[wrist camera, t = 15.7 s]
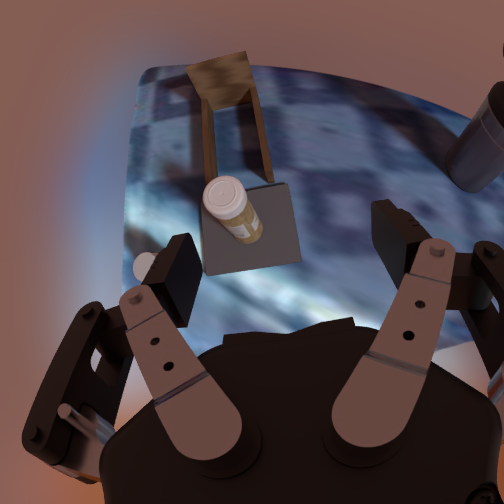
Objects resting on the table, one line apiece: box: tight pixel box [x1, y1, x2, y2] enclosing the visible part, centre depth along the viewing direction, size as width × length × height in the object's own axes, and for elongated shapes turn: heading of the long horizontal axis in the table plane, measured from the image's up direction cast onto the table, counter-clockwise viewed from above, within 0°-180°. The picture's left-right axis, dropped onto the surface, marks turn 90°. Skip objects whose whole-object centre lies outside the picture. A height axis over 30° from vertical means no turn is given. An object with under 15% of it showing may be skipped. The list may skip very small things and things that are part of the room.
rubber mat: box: [201, 184, 302, 276], centre depth 42 cm, size 14×12×1 cm
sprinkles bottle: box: [203, 176, 263, 244], centre depth 36 cm, size 5×5×13 cm
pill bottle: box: [133, 252, 158, 281], centre depth 40 cm, size 5×5×8 cm
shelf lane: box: [186, 51, 275, 186], centre depth 41 cm, size 10×19×12 cm, turn 8°
